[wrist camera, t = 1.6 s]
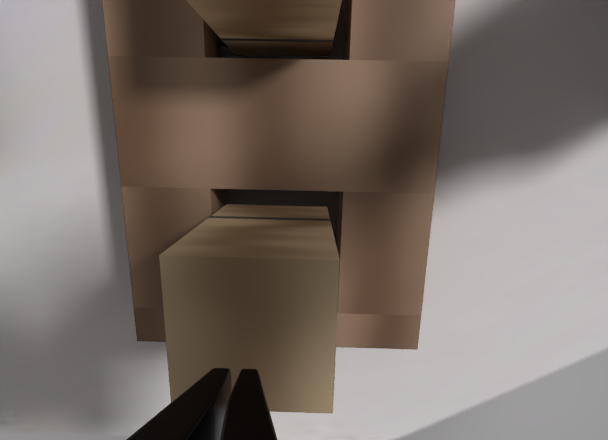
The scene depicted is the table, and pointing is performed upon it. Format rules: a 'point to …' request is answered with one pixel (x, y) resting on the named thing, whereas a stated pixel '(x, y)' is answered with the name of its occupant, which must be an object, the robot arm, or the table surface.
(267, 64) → the walnut board
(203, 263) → the oak peg
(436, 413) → the table surface
